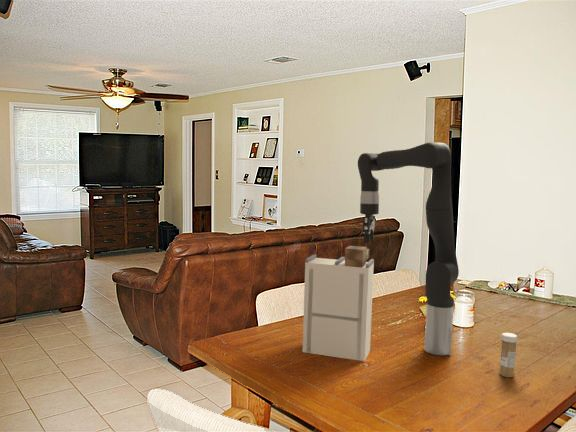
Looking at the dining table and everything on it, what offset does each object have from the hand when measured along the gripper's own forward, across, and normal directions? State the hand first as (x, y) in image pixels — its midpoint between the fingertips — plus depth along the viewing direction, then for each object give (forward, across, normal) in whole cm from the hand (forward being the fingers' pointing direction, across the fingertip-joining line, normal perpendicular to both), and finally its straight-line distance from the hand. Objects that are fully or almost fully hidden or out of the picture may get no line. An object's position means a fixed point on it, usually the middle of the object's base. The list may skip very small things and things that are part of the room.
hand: (368, 241), depth 210 cm
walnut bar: (+4, -29, -2) cm, 30 cm away
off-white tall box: (+36, -34, +4) cm, 50 cm away
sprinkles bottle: (+37, -32, -52) cm, 71 cm away
